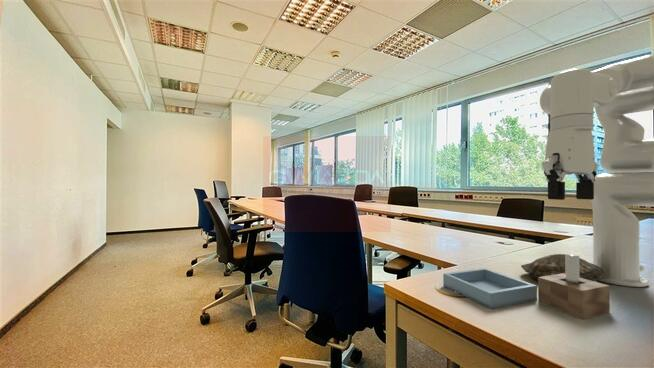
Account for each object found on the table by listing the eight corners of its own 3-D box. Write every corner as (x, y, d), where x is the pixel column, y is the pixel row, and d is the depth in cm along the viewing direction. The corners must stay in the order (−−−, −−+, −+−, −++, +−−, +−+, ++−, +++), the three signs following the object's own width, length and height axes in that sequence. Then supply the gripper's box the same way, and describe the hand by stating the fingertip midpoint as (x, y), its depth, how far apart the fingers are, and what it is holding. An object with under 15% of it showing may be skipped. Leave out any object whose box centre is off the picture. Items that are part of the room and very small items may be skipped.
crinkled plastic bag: (506, 256, 88) (555, 241, 92) (511, 283, 88) (560, 267, 92) (558, 270, 72) (615, 251, 76) (564, 304, 72) (621, 283, 77)
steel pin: (569, 304, 66) (569, 253, 66) (582, 308, 63) (581, 256, 63) (563, 305, 65) (562, 254, 65) (575, 310, 62) (574, 257, 62)
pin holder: (563, 297, 70) (563, 273, 70) (609, 312, 61) (609, 285, 61) (538, 302, 67) (538, 277, 67) (582, 319, 58) (582, 290, 58)
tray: (484, 279, 82) (484, 268, 82) (537, 299, 68) (536, 285, 68) (443, 286, 78) (443, 273, 78) (490, 308, 63) (490, 293, 63)
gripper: (577, 131, 71) (576, 198, 70) (527, 126, 65) (527, 198, 65) (615, 125, 63) (615, 200, 63) (563, 118, 58) (563, 200, 58)
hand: (570, 199), depth 64 cm, fingers open, 9 cm apart
